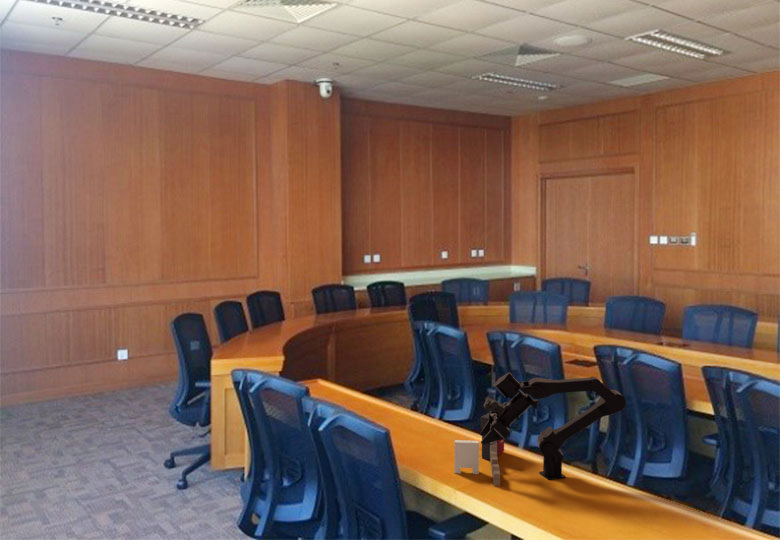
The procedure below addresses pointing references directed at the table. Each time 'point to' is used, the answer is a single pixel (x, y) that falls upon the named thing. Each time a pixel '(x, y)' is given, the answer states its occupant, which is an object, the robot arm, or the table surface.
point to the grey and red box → (492, 446)
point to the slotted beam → (495, 468)
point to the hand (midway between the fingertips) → (481, 439)
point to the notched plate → (467, 455)
